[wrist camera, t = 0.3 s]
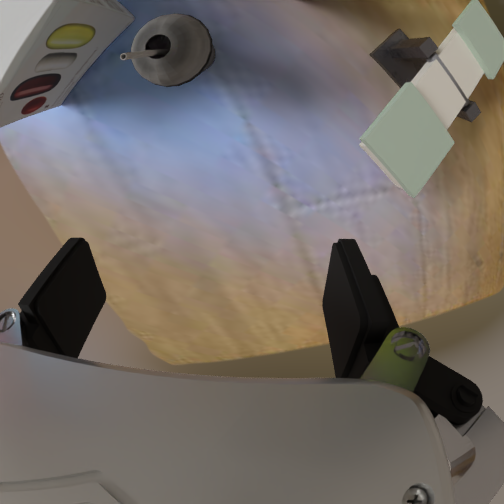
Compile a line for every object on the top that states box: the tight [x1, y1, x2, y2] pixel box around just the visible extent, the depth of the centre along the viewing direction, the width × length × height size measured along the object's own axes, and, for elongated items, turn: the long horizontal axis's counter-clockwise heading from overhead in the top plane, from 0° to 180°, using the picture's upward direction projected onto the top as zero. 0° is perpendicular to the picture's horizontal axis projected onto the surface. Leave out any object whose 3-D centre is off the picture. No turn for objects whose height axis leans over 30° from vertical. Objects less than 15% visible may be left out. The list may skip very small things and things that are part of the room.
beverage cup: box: [120, 14, 215, 87], centre depth 22 cm, size 7×7×20 cm
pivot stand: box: [370, 29, 481, 122], centre depth 26 cm, size 6×12×10 cm, turn 50°
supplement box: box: [0, 0, 135, 127], centre depth 20 cm, size 17×13×18 cm
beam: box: [359, 0, 504, 198], centre depth 22 cm, size 28×8×3 cm, turn 142°
